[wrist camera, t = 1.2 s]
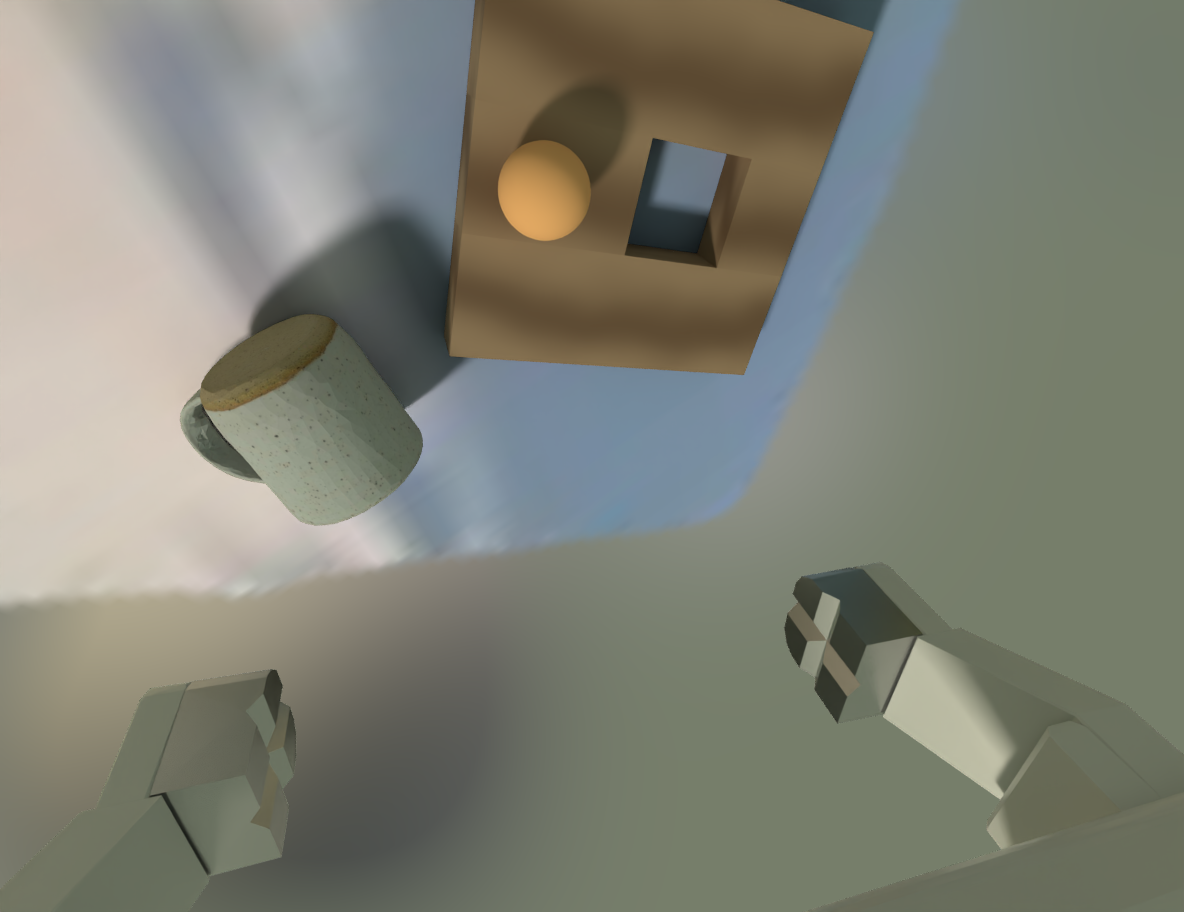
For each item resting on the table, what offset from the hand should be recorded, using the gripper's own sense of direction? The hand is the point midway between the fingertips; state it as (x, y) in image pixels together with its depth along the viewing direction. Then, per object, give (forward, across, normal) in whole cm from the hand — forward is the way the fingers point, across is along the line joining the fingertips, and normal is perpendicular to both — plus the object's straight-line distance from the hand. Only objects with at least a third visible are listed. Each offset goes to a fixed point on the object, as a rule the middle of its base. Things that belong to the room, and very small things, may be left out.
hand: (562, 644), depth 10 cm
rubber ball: (+22, -4, -3) cm, 22 cm away
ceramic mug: (+27, +8, +8) cm, 29 cm away
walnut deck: (+27, -10, -3) cm, 29 cm away
